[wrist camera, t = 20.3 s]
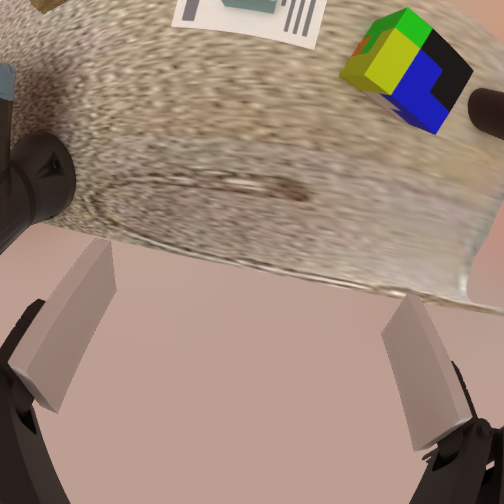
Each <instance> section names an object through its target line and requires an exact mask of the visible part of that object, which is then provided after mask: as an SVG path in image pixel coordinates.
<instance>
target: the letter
mask: <svg viewBox="0 0 504 504" xmlns="http://www.w3.org/2000/svg"><path fill="white" fill-rule="evenodd" d="M326 2H327V0H277V2H276V6H275V10H274V14H271V13H266V12H260V11H254V10H248V9H241V8H233V7H225V6H224V4H223V2H222V1H221V0H178V2H177V6H176V10H175V13H174V17H173V21H172V25H171V27H184V28H198V29H208V30H217V31H225V32H232V33H239V34H245V35H251V36H256V37H262V38H267V39H271V40H276V41H280V42H285V43H289V44H293V45H297V46H300V47H304V48H308V49H311V50H314V48H315V44H316V41H317V37H318V33H319V29H320V25H321V21H322V18H323V14H324V10H325V6H326Z"/></svg>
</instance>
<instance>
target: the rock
mask: <svg viewBox="0 0 504 504" xmlns="http://www.w3.org/2000/svg"><path fill="white" fill-rule="evenodd" d="M64 1H66V0H30V2H31V4H32V5H33V6H34V7H35V8H36V9H37V10H38V11H41V13H43V14H45V13H46V12H47V11H48V10H50V9H52V8H55V7H57V6H58V5H61V4H62V3H63V2H64Z"/></svg>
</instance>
